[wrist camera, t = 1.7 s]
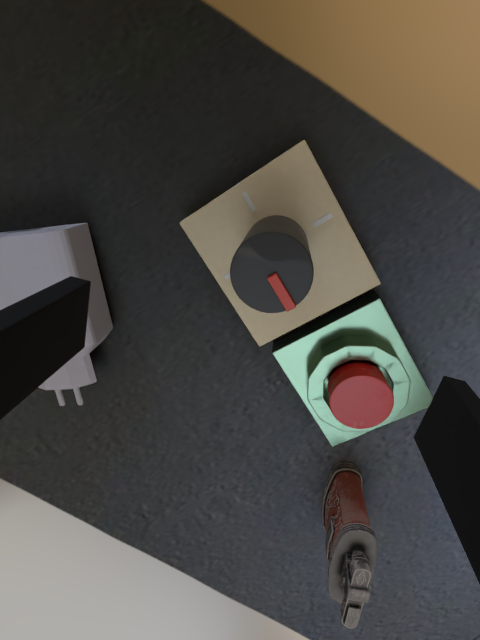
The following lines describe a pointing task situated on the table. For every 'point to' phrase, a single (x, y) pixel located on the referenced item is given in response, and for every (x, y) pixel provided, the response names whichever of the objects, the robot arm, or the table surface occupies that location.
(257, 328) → the hob panel
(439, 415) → the robot arm
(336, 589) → the lighter
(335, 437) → the box
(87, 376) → the charger
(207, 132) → the table surface
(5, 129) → the table surface
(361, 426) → the button
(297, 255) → the hob knob
